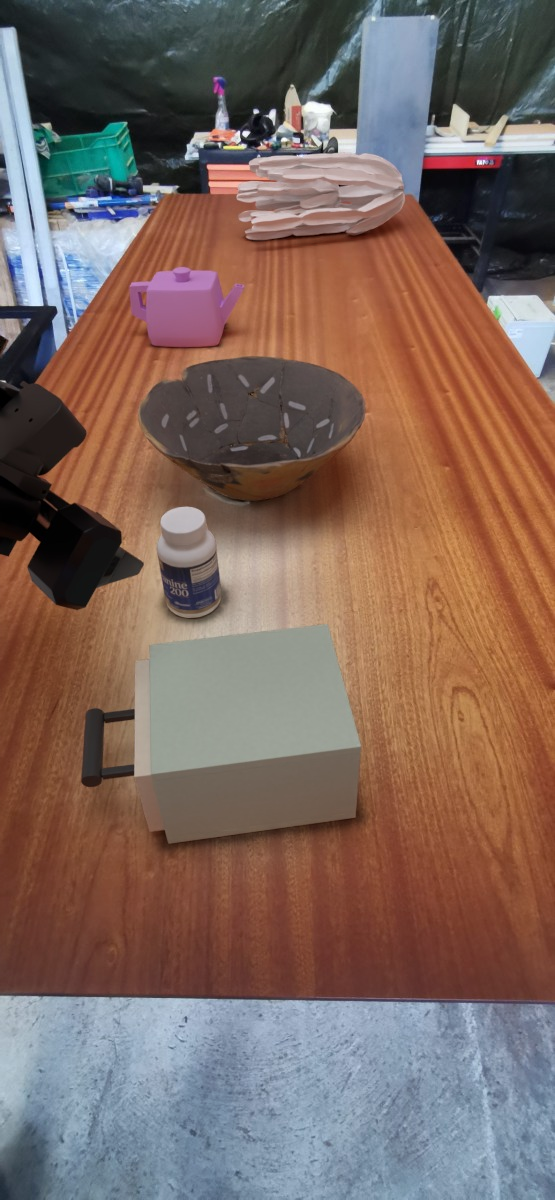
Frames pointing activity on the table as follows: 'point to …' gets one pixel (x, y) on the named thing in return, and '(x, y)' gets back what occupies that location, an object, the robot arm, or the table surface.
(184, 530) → the pill bottle
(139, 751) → the drawer
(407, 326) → the table surface
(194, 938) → the table surface
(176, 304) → the teapot
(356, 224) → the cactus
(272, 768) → the cabinet
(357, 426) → the bowl
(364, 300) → the table surface
